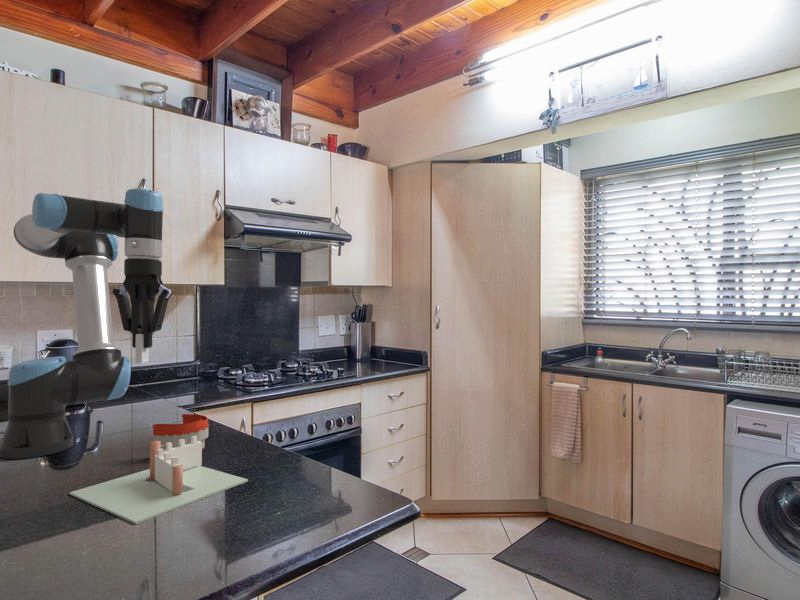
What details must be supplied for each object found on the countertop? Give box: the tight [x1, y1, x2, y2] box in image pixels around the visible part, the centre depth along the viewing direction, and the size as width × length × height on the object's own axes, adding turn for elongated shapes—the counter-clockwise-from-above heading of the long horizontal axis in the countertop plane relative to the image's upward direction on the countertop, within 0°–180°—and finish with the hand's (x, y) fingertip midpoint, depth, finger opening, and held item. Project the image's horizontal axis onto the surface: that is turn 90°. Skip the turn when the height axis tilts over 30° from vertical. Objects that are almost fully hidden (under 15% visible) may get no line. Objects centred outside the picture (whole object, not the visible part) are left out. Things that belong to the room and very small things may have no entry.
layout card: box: [69, 465, 249, 525], centre depth 95 cm, size 24×23×1 cm
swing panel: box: [155, 449, 183, 494], centre depth 94 cm, size 11×2×6 cm, turn 46°
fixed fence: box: [149, 436, 203, 480], centre depth 103 cm, size 2×12×8 cm, turn 147°
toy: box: [152, 413, 210, 451], centre depth 119 cm, size 12×10×8 cm
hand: (142, 362), depth 107 cm, fingers closed
